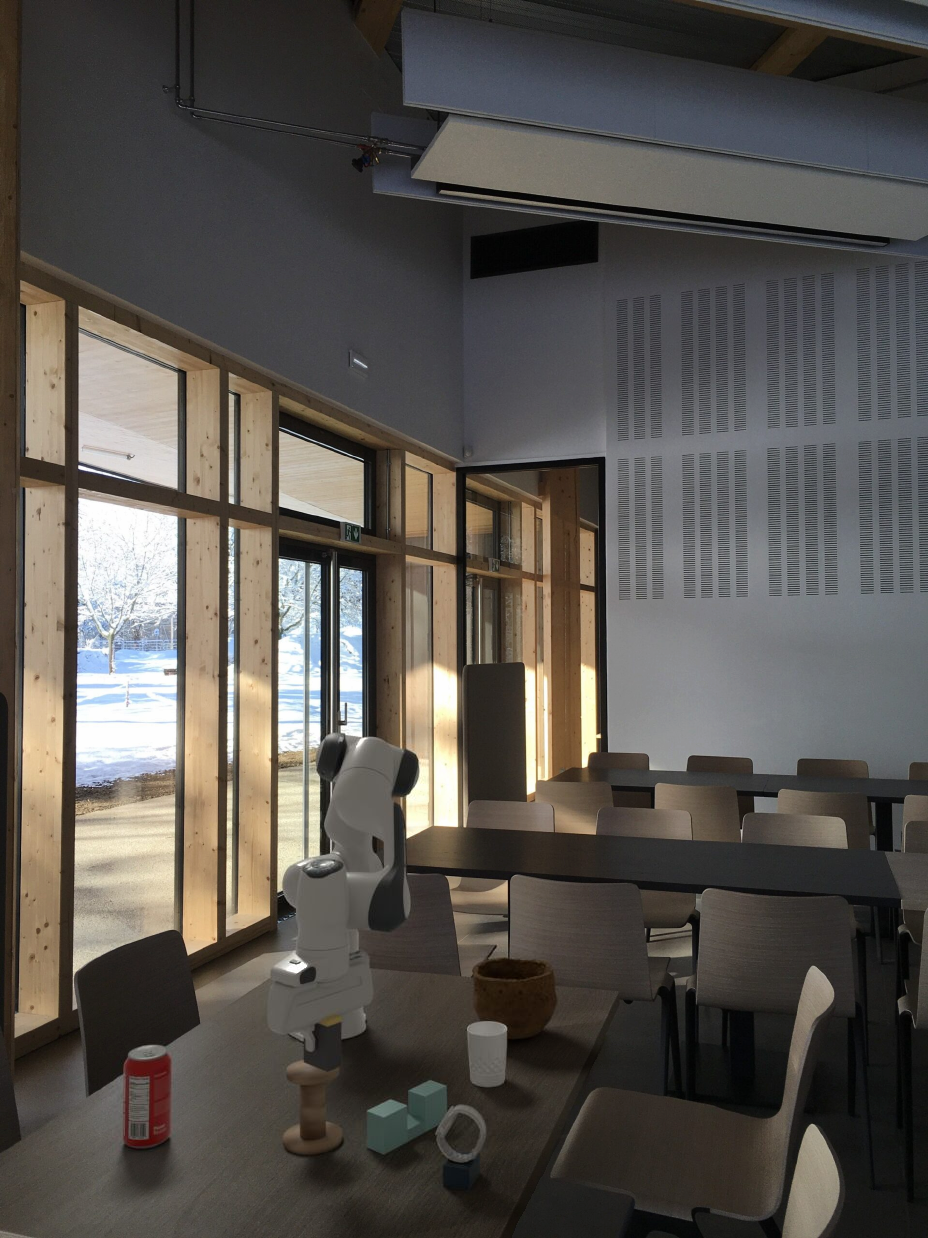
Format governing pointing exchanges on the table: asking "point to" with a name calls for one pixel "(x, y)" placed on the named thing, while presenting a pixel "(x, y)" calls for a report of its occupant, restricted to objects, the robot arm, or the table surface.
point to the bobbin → (311, 1112)
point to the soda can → (147, 1097)
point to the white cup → (487, 1053)
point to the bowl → (515, 994)
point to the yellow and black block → (326, 1045)
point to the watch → (460, 1151)
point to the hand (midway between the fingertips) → (322, 1046)
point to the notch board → (406, 1117)
